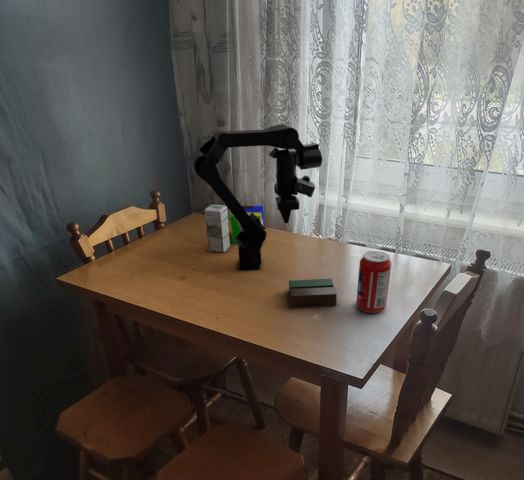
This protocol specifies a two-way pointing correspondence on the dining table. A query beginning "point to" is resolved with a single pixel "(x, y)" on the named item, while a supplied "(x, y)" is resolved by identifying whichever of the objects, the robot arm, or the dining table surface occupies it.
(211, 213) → the syrup box
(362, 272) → the soda can
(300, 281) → the green bar
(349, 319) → the dining table surface
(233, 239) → the puzzle toy
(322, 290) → the walnut bar
